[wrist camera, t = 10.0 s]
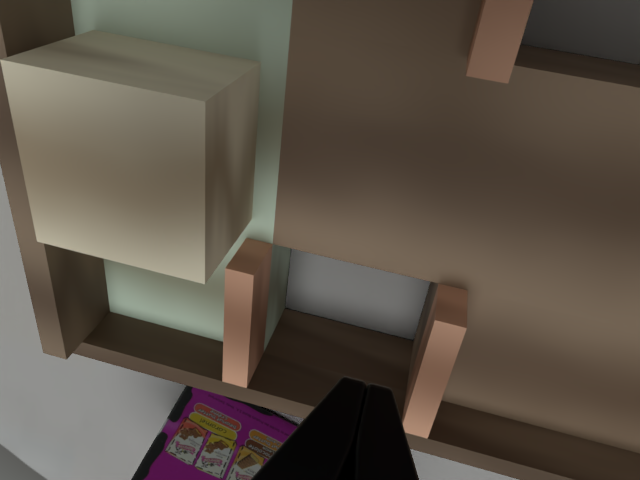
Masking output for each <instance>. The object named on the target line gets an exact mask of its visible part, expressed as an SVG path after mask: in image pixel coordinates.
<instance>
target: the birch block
mask: <svg viewBox="0 0 640 480" xmlns="http://www.w3.org/2000/svg"><path fill="white" fill-rule="evenodd" d="M0 61H1V66H2V71H3V76H4V81H5V86H6V91H7V96H8V101H9V106H10V111H11V115H12V120H13V125H14V130H15V135H16V140H17V145H18V150H19V155H20V160H21V165H22V170H23V175H24V180H25V185H26V189H27V194H28V199H29V204H30V209H31V214H32V219H33V224H34V229H35V234H36V239H37V242H41V243H45V244H49V245H53V246H57V247H60V248H64V249H68V250H72V251H76V252H80V253H84V254H88V255H92V256H96V257H100V258H104V259H108V260H111V261H115V262H119V263H123V264H127V265H131V266H135V267H139V268H143V269H147V270H151V271H155V272H158V273H162V274H166V275H170V276H174V277H178V278H182V279H186V280H190V281H194V282H198V283H202V284H206V282H207V281H208V279H209V278H210V277H211V275H212V274H213V272H214V271H215V270H216V268H217V267H218V266H219V264H220V263H221V261H222V260H223V259H224V257H225V256H226V254H227V253H228V252H229V250H230V249H231V247H232V246H233V245H234V243H235V242H236V241H237V239H238V238H239V236H240V235H241V234H242V232H243V231H244V229H245V228H246V227H247V225H248V224H249V222H250V221H251V220H252V209H253V192H254V174H255V157H256V139H257V122H258V104H259V87H260V70H261V62H259V61H254V60H249V59H243V58H238V57H233V56H228V55H222V54H217V53H212V52H207V51H202V50H196V49H191V48H186V47H181V46H175V45H170V44H165V43H160V42H154V41H149V40H144V39H139V38H134V37H128V36H123V35H118V34H113V33H107V32H102V31H97V30H92V31H89V32H85V33H82V34H79V35H76V36H73V37H70V38H66V39H63V40H60V41H57V42H54V43H51V44H48V45H44V46H41V47H38V48H35V49H32V50H29V51H26V52H22V53H19V54H16V55H13V56H10V57H7V58H3V59H0Z"/></svg>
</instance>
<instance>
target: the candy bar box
mask: <svg viewBox="0 0 640 480" xmlns="http://www.w3.org/2000/svg"><path fill="white" fill-rule="evenodd" d="M297 427H298V426H296V425H294V424H292V423H290V422H288V421H286V420H284V419H282V418H280V417H279V416H277V415H275V414H273V413H271V412H269V411H267V410H265V409H263V408H261V407H259V406H257V405H254V404H251V403H247V402H244V401H240V400H237V399H233V398H230V397H226V396H223V395H219V394H216V393H212V392H209V391H205V390H201V389H198V388H194V387H191V386H186V387H185V389H184V391H183V392H182V394H181V396H180V397H179V399H178V401H177V402H176V404H175V406H174V407H173V409H172V411H171V413H170V414H169V416H168V418H167V419H166V421H165V423H164V424H163V426H162V428H161V429H160V431H159V433H158V435H157V436H156V438H155V440H154V442H153V443H152V445H151V447H150V449H149V450H148V452H147V453H146V455H145V457H144V458H143V460H142V462H141V464H140V466H139V467H138V469H137V471H136V472H135V474H134V476H133V478H132V479H131V480H250V479H251V478H252V477H253V476H254V475H255V474H256V473H257V472H258V470H259V469H260V468H261V467H262V466H263V465H264V464H265V463H266V462H267V460H268V459H269V458H270V457H271V456H272V455H273V454H274V453H275V451H276V450H277V449H278V448H279V447H280V446H281V445H282V444H283V442H284V441H285V440H286V439H287V438H288V437H289V436H290V435H291V434H292V432H293V431H294V430H295V429H296V428H297Z"/></svg>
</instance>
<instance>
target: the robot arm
mask: <svg viewBox="0 0 640 480" xmlns="http://www.w3.org/2000/svg"><path fill="white" fill-rule="evenodd" d="M364 395H365V396H364ZM250 480H419V478H418V475H417V471H416V468H415V465H414V461H413V458H412V454H411V451H410V447H409V444H408V441H407V437H406V434H405V430H404V427H403V424H402V420H401V417H400V413H399V410H398V407H397V403H396V400H395V396H394V393H393V391H392V389H391V388H389V387H385V386H381V385H378V384H374V383H369V384H368V385H367V387H366V382H365V381H363V380H359V379H355V378H351V377H348V376H344V377H342V378H341V379H340V380H339V381H338V382H337V383H336V384H335V385H334V387H333V388H332V389H331V390H330V391H329V392H328V393H327V394H326V395H325V397H324V398H323V399H322V400H321V401H320V402H319V403H318V404H317V406H316V407H315V408H314V409H313V410H312V411H311V412H310V413H309V415H308V416H307V417H306V418H305V419H304V420H303V421H302V422H301V423H300V425H299V426H298V427H297V428H296V429H295V430H294V431H293V432H292V434H291V435H290V436H289V437H288V438H287V439H286V440H285V441H284V442H283V444H282V445H281V446H280V447H279V448H278V449H277V450H276V451H275V453H274V454H273V455H272V456H271V457H270V458H269V459H268V460H267V462H266V463H265V464H264V465H263V466H262V467H261V468H260V469H259V470H258V472H257V473H256V474H255V475H254V476H253V477H252V478H251V479H250Z"/></svg>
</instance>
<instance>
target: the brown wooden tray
mask: <svg viewBox="0 0 640 480" xmlns="http://www.w3.org/2000/svg"><path fill="white" fill-rule="evenodd" d="M533 1H534V0H0V59H3V58H7V57H10V56H13V55H16V54H19V53H22V52H26V51H29V50H32V49H35V48H38V47H41V46H44V45H48V44H51V43H54V42H57V41H60V40H63V39H66V38H70V37H73V36H76V35H79V34H82V33H85V32H89V31H92V30H97V31H102V32H107V33H113V34H118V35H123V36H128V37H134V38H139V39H144V40H149V41H154V42H160V43H165V44H170V45H175V46H181V47H186V48H191V49H196V50H202V51H207V52H212V53H217V54H222V55H228V56H233V57H238V58H243V59H249V60H254V61H259V62H261V70H260V87H259V104H258V122H257V139H256V157H255V174H254V192H253V209H252V220H251V221H250V222H249V224H248V225H247V227H246V228H245V229H244V231H243V232H242V234H241V235H240V236H239V238H238V239H237V241H236V242H235V243H234V245H233V246H232V247H231V249H230V250H229V252H228V253H227V254H226V256H225V257H224V259H223V260H222V261H221V263H220V264H219V266H218V267H217V268H216V270H215V271H214V272H213V274H212V275H211V277H210V278H209V279H208V281H207V282H206V284H202V283H198V282H194V281H190V280H186V279H182V278H178V277H174V276H170V275H166V274H162V273H158V272H155V271H151V270H147V269H143V268H139V267H135V266H131V265H127V264H123V263H119V262H115V261H111V260H108V259H104V258H100V257H96V256H92V255H88V254H84V253H80V252H76V251H72V250H68V249H64V248H60V247H57V246H53V245H49V244H45V243H41V242H37V239H36V234H35V229H34V224H33V219H32V214H31V209H30V204H29V199H28V194H27V189H26V185H25V180H24V175H23V170H22V165H21V160H20V155H19V150H18V145H17V140H16V135H15V130H14V125H13V120H12V115H11V111H10V106H9V101H8V96H7V91H6V86H5V81H4V76H3V71H2V66H1V61H0V164H1V168H2V173H3V177H4V182H5V186H6V190H7V195H8V199H9V203H10V208H11V212H12V217H13V221H14V225H15V230H16V234H17V239H18V243H19V247H20V252H21V256H22V261H23V265H24V269H25V274H26V278H27V283H28V287H29V291H30V296H31V300H32V305H33V309H34V313H35V318H36V322H37V327H38V331H39V335H40V340H41V344H42V349H43V353H46V354H49V355H53V356H56V357H60V358H63V359H67V358H68V357H69V356H70V355H71V354H72V353H74V354H78V355H81V356H85V357H88V358H92V359H95V360H99V361H102V362H106V363H110V364H113V365H117V366H120V367H124V368H127V369H131V370H134V371H138V372H141V373H145V374H148V375H152V376H155V377H159V378H163V379H166V380H170V381H173V382H177V383H180V384H184V385H187V386H191V387H194V388H198V389H201V390H205V391H209V392H212V393H216V394H219V395H223V396H226V397H230V398H233V399H237V400H240V401H244V402H247V403H251V404H254V405H258V406H262V407H265V408H269V409H272V410H276V411H279V412H283V413H286V414H290V415H293V416H297V417H300V418H304V419H305V418H306V417H307V416H308V415H309V413H310V412H311V411H312V410H313V409H314V408H315V407H316V406H317V404H318V403H319V402H320V401H321V400H322V399H323V398H324V397H325V395H326V394H327V393H328V392H329V391H330V390H331V389H332V388H333V387H334V385H335V384H336V383H337V382H338V381H339V380H340V379H341V378H342V377H344V376H348V377H351V378H355V379H359V380H363V381H365V382H366V387H367V385H368V384H369V383H374V384H378V385H381V386H385V387H389V388H391V389H392V391H393V393H394V396H395V400H396V403H397V407H398V410H399V413H400V417H401V420H402V424H403V427H404V430H405V434H406V437H407V441H408V444H409V447H410V449H413V450H417V451H421V452H424V453H428V454H431V455H435V456H438V457H442V458H445V459H449V460H452V461H456V462H459V463H463V464H466V465H470V466H474V467H477V468H481V469H484V470H488V471H491V472H495V473H498V474H502V475H505V476H509V477H512V478H516V479H519V480H640V65H636V64H630V63H625V62H619V61H613V60H607V59H601V58H596V57H590V56H584V55H578V54H572V53H567V52H561V51H555V50H549V49H543V48H538V47H532V46H526V45H520V44H521V40H522V37H523V34H524V31H525V27H526V24H527V21H528V18H529V14H530V11H531V8H532V5H533ZM291 249H296V250H300V251H304V252H308V253H312V254H317V255H321V256H325V257H329V258H333V259H338V260H342V261H346V262H350V263H354V264H359V265H363V266H367V267H371V268H375V269H380V270H384V271H388V272H392V273H396V274H401V275H405V276H409V277H413V278H417V279H422V280H426V281H430V286H429V289H428V293H427V296H426V299H425V303H424V306H423V310H422V313H421V317H420V320H419V324H418V327H417V331H416V334H415V338H414V341H411V340H407V339H403V338H399V337H395V336H392V335H388V334H384V333H380V332H376V331H372V330H368V329H364V328H360V327H356V326H352V325H348V324H344V323H340V322H337V321H333V320H329V319H325V318H321V317H317V316H313V315H309V314H305V313H301V312H297V311H293V310H289V309H286V308H285V302H286V292H287V283H288V273H289V264H290V254H291ZM364 396H365V395H364Z"/></svg>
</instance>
